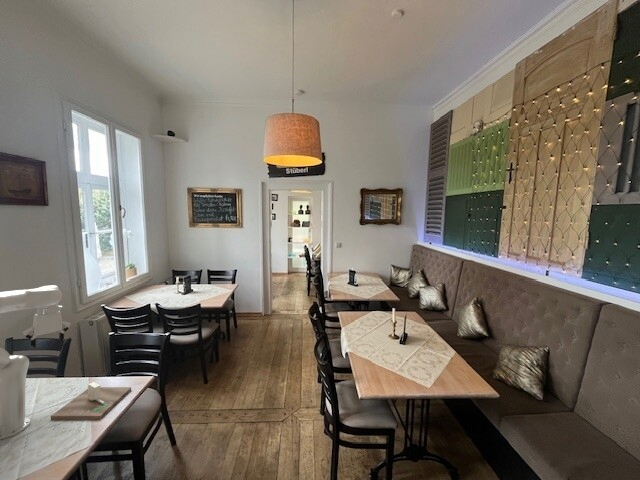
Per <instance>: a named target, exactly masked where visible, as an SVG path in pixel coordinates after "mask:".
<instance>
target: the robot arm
mask: <svg viewBox="0 0 640 480" xmlns="http://www.w3.org/2000/svg"><path fill="white" fill-rule="evenodd" d="M62 297H63V293H62V291H61V290H60V288H59V286H58V285H54V284H51V285H50V284H49V285H42V286H39V287H36V288H29V289H18V290H17V289H15V290H6V291H0V314H3V313H10V312H14V311H22V310H29V309H34V308H36V311H37V312H36V313H34V316H33V321H32V322H33V323H32V326H31V327H29V328H27V329H26V330H24V331H22V332H21V334H23V336H24V337H25V338H26V339H28V340H30V346H31V347H32V348H33V349H34V348H36V345H37V343H36V341H37V340H36V338H37V337H38V336H40V335H45V334H51V333H56V332H59V334H58V340H59V342H63V340H64V339H65V333H66V332H67V331H68V330H69V329H70V327H71V325H72V323H71V322H67V321H63V319H62V313H61V310H63V305H59V302H60V301H61V300H62ZM63 325H64V326H65V327H64V328H63ZM30 332H32V334H29V333H30ZM29 365H30V359H29V358H28V357H27V356H26V355H21V354H10V353H9V351H7V350H6V349H4V348H3V347H0V441H2V440H4V439H8V438H10V437H11V438H12V437H14V436H15V435H17V434H20V433H21V432H22V431H24V430H25V429H27V428H28V427H29V426H30V425H31V418H30V417H28V416H26V380H27V373H28V369H29Z"/></svg>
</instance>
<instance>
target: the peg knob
mask: <svg viewBox="0 0 640 480" xmlns="http://www.w3.org/2000/svg"><path fill="white" fill-rule="evenodd" d="M100 387H101V384H99V383H97V382H95V381H93V382H91V383H88V384H87V389H88V396H89V397H90V400H91V401H93V400H96V401H98V402H100V403H101V404H104V401H102V400H100V399H98V398H99V397H100Z"/></svg>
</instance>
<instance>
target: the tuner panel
mask: <svg viewBox="0 0 640 480" xmlns="http://www.w3.org/2000/svg"><path fill="white" fill-rule="evenodd" d="M131 391H132V387H131V386H130V387H129V386H128V387H127V386H124V387H122V386H121V387H120V386H119V387H117V386H116V387H115V386H112V387H110V386H100V397H99V398H98V399H100V400H102V401H104V404H101V403H100V402H98V401H96V400H93V401H91V400H90V397H89V396H88V388H86V389H85V390H84V391H83V392H81V393H80V394H79V395H77V396H75V397H74V398H73V399H72V400H70V401H69V402H68V403H66V404H65V405H64V406H62V407H61V408H60V409H58V410H57V411H55V412H54V413H52V415H50V419H51V420H101V419H102V418H103V417H104V416H105V415H106V414H107V413H108V412H110V410H113V408H114V407H115V406H116V405H117V404H118V403H119V402H120V401H121V400H122V399H124V397H126V396H127V395H128V394H129V393H130V392H131Z"/></svg>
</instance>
